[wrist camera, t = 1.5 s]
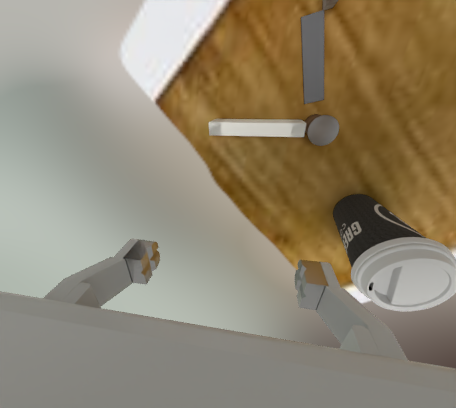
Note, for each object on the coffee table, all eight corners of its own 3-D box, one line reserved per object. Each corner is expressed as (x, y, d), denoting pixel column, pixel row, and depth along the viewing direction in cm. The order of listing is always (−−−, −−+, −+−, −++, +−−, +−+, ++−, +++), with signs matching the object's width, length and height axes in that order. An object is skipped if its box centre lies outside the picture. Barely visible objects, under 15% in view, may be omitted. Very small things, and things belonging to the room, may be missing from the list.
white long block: (301, 119, 27) (306, 123, 23) (299, 131, 28) (304, 137, 24) (215, 118, 29) (208, 122, 25) (215, 130, 29) (209, 135, 26)
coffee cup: (339, 178, 31) (393, 240, 18) (401, 193, 30) (501, 268, 17) (314, 226, 36) (341, 301, 23) (366, 240, 35) (425, 325, 22)
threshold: (323, 10, 22) (324, 9, 22) (323, 99, 26) (323, 99, 26) (300, 18, 23) (301, 17, 22) (304, 103, 27) (304, 103, 26)
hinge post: (327, 109, 27) (339, 112, 22) (327, 135, 28) (338, 142, 24) (300, 114, 27) (307, 118, 23) (301, 139, 29) (308, 147, 24)
